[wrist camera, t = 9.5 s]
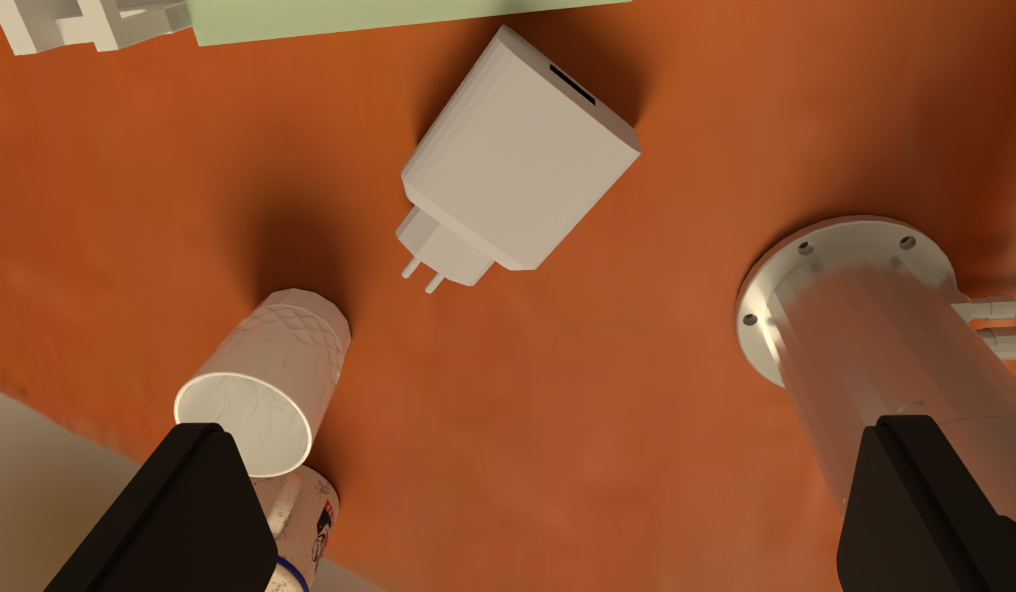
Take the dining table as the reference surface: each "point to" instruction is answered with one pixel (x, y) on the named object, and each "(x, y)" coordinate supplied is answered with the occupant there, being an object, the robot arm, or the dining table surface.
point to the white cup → (271, 380)
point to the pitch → (342, 15)
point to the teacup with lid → (297, 524)
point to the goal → (88, 22)
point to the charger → (508, 166)
